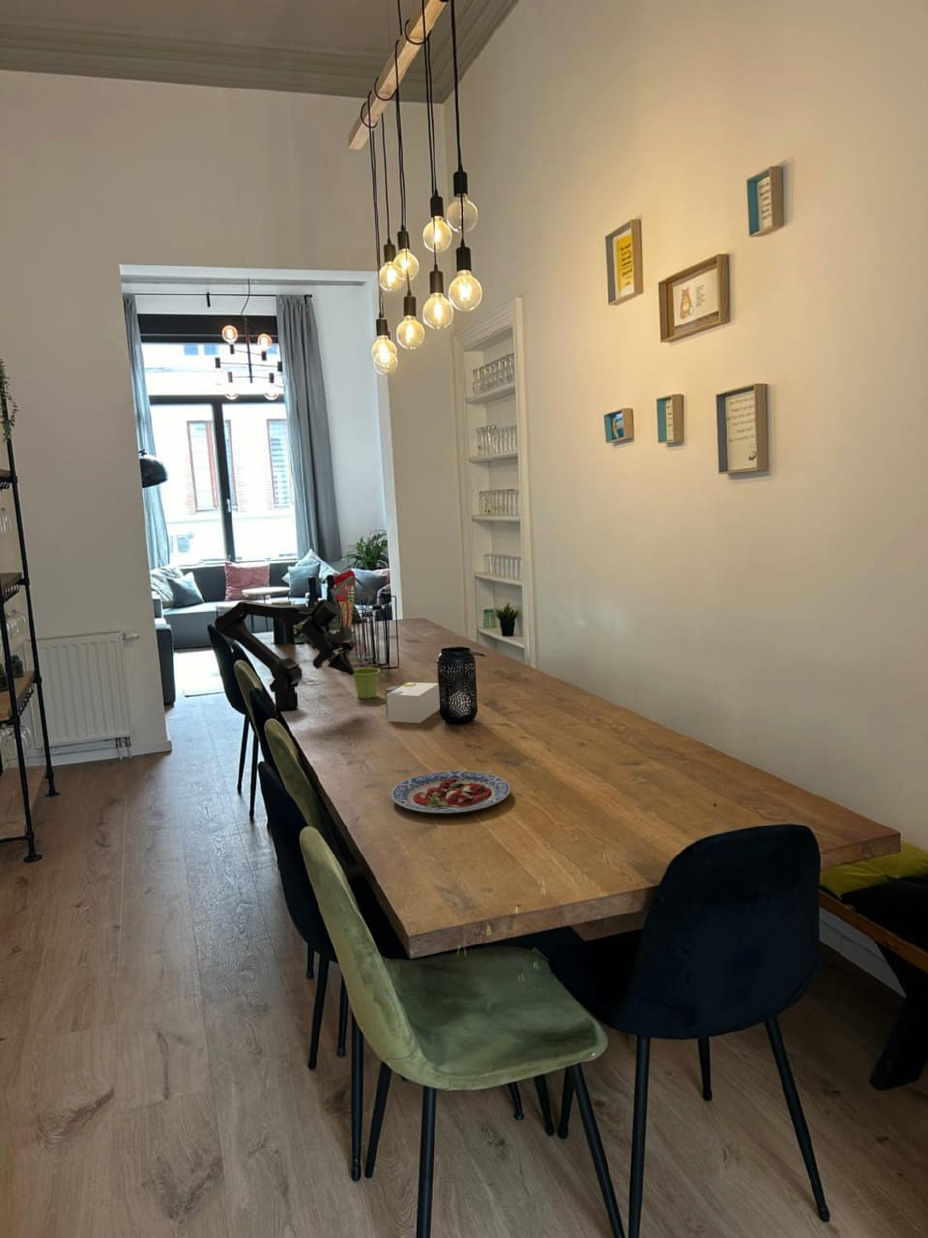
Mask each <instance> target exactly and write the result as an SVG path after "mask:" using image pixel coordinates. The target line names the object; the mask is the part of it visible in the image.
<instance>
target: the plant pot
mask: <svg viewBox="0 0 928 1238" xmlns="http://www.w3.org/2000/svg"><path fill="white" fill-rule="evenodd" d="M355 669H356V668H355ZM353 670H354V669H353ZM354 672H355V673H354V674H353V675H352V676H353V678H354V684H355V688H356V689H355V690H356V695H357V698H359V699H362V700H364V699H366V700H369V699H371V698H373V699H374V698H377V693H378V684H379V683H378V681H379V677H380V673H381V669H379V668H376V667H368V668H366V667H363V668H362V667H361V668H357V669H356V670H354Z"/></svg>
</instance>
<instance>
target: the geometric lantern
mask: <svg viewBox="0 0 928 1238" xmlns="http://www.w3.org/2000/svg"><path fill="white" fill-rule="evenodd" d="M355 582H356V583H357V584H358V585H359V586H361V587H362V588H357V586H356V583H355ZM345 588H347V589H346V590H344V589H345ZM352 588H353V589H352ZM365 590H366V591H367V592H366V591H365ZM328 591H329V592H330V593H331V596H332V600H333V602H334V603H335V604H334V605H336V606H337V608H338V609H339V611H340V614H339V615H338V616H337V617H336V626H335V627H336V632H338V631H339V629H340V628H342V627H344V626H346V623H345V622H346V621H345V619H346V618H345V615H361V643H362V644H361V652H350V653H349V654H348V656H349V655H360V657H358V658H357V657H356V658H348V659H349V661H350V663H351V662H359V663H351V665H352V667H357V666H358V665H363V668H369V667H368V664H369V663H370V661H372V660H373V658H375V657H374V656H375V655H374V646H373V644H374V643H373V634H372V623H371V622H372V621H371V611H369V608H370V603H371V602H370V601H373V598H374V597H375V594H377V591H376V590H375V589H374V588H372V587H371V586H369V585H368V584H366V583H364V582H363V581H362V580H360V578H357V577H356V576H349V577H347V578H346V579H344V580H343V581H341V582H339V583H338V584H337V585H335V586H334V587H332V588H331V589H329V590H328ZM358 591H360V592H358ZM364 591H365V592H364ZM351 592H352V593H351ZM337 595H340V596H341V597H343V598H344V601H343V603H342V606H341V608H340V607H339V604H338V602H337V601H338V600H337V597H338V596H337ZM361 595H364V596H363V597H361V598H360V597H359V596H361ZM352 596H353V597H352ZM366 597H368V599H367V604H366V606H365V608H364V606H363V604H362V602H361V601H362V600H364V599H365V598H366ZM356 599H357V600H356ZM347 601H349V603H348V604H347V606H346V607H345V609H344V606H345V604H346V602H347ZM351 603H353V604H354V603H357V605H358V606H359V609H358V608H356V609H355V608H354V609H348V607H349V605H351ZM350 611H351V612H350ZM352 611H361V612H352ZM345 612H349V613H345ZM367 614H368V616H367ZM364 619H365V630H366V632H365V633H366V641H367V642H366V643H367V652H365V648H364V644H365V643H364ZM342 620H343V621H342ZM368 622H369V623H368ZM342 623H343V624H342ZM368 624H369V630H368ZM342 625H343V626H342ZM336 632H335V633H336ZM369 635H370V641H369ZM345 641H347V639H346V640H344V641H343V642H345ZM369 642H370V643H369ZM370 646H371V651H370ZM339 647H340V646H339ZM363 655H365V656H364V657H363ZM365 660H367V661H365ZM358 667H359V666H358ZM353 670H356V668H355V669H354V668H353Z"/></svg>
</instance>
